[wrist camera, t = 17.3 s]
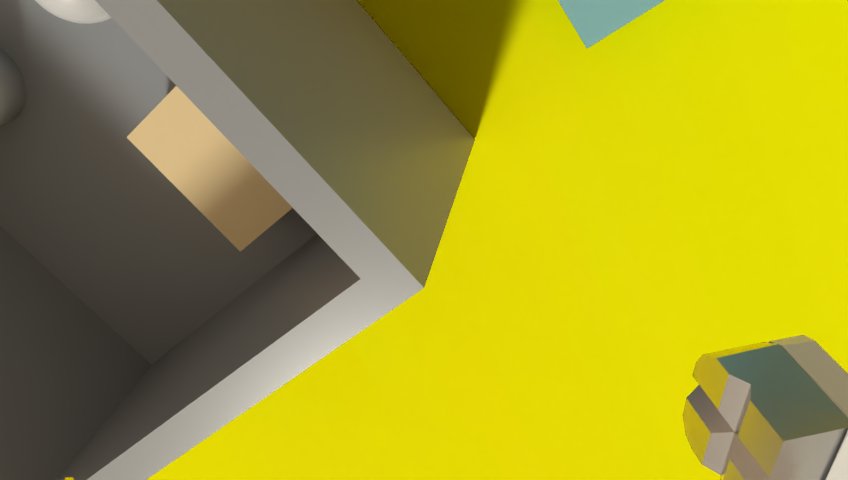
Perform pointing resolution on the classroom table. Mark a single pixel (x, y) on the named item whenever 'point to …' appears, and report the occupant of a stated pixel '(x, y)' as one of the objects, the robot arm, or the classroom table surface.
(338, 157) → the grey open box
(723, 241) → the classroom table surface
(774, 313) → the classroom table surface
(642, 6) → the lid
